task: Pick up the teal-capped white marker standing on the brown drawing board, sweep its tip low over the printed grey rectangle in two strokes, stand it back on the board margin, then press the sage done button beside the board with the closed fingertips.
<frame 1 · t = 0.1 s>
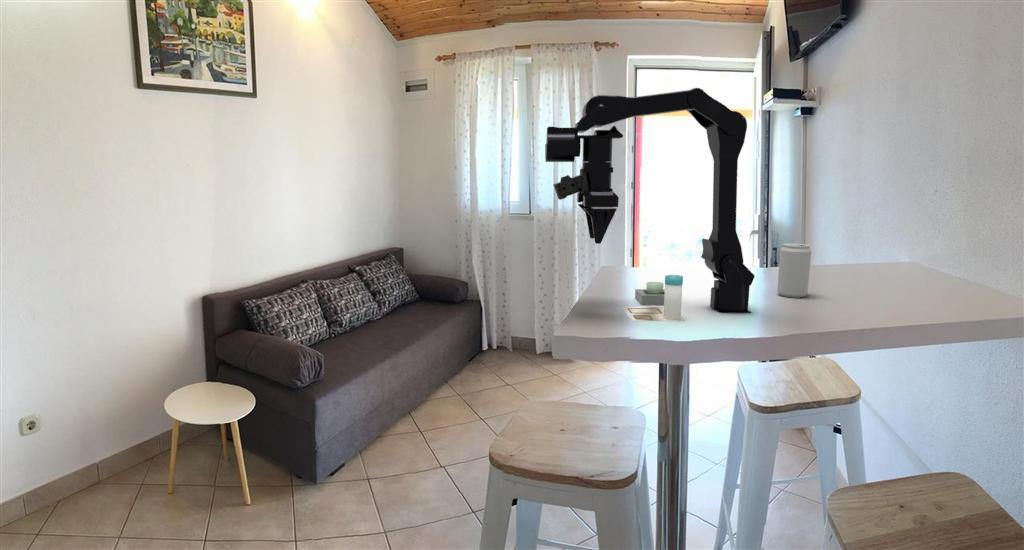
hand: (595, 240, 121), 15 cm above the table, fingers open, 9 cm apart
beverage can: (791, 296, 139), on the table
done button: (654, 288, 130), point 3 cm above the table, slide at 0.0 cm
marker: (671, 318, 116), point 1 cm above the table, touching drawing board
button housing: (654, 303, 130), on the table
drawing board: (651, 315, 120), on the table
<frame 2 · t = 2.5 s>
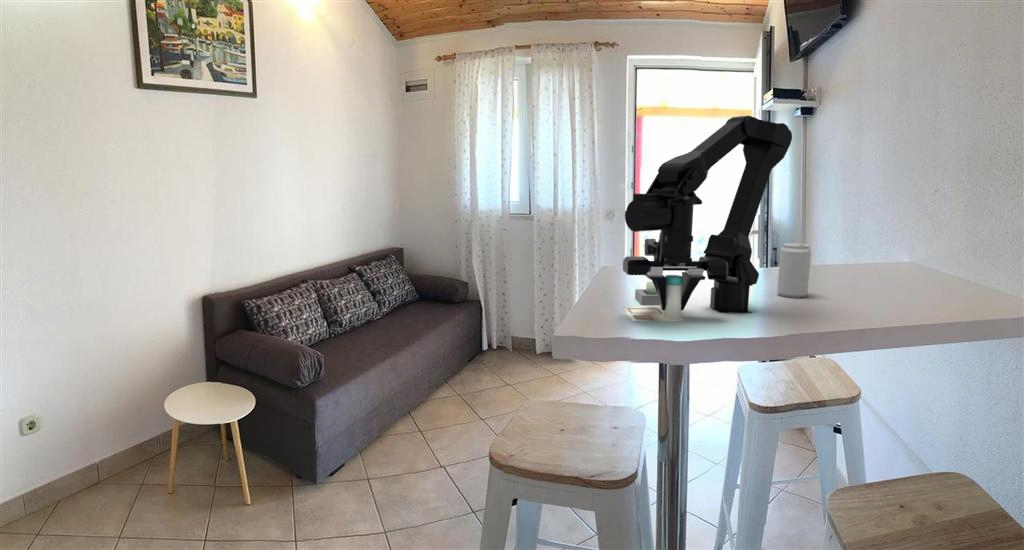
hand: (672, 310, 115), 2 cm above the table, fingers closed on marker, 3 cm apart
marker: (671, 318, 116), point 1 cm above the table, touching drawing board, gripper
everything else where it was.
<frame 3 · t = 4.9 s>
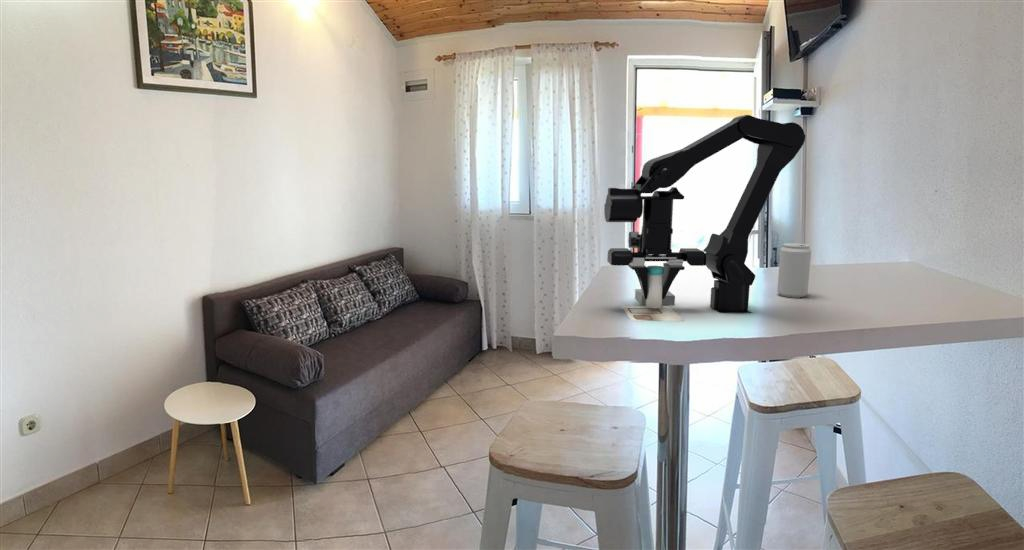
hand: (654, 298, 122), 3 cm above the table, fingers closed on marker, 3 cm apart
marker: (653, 306, 122), point 1 cm above the table, touching gripper
everything else where it was.
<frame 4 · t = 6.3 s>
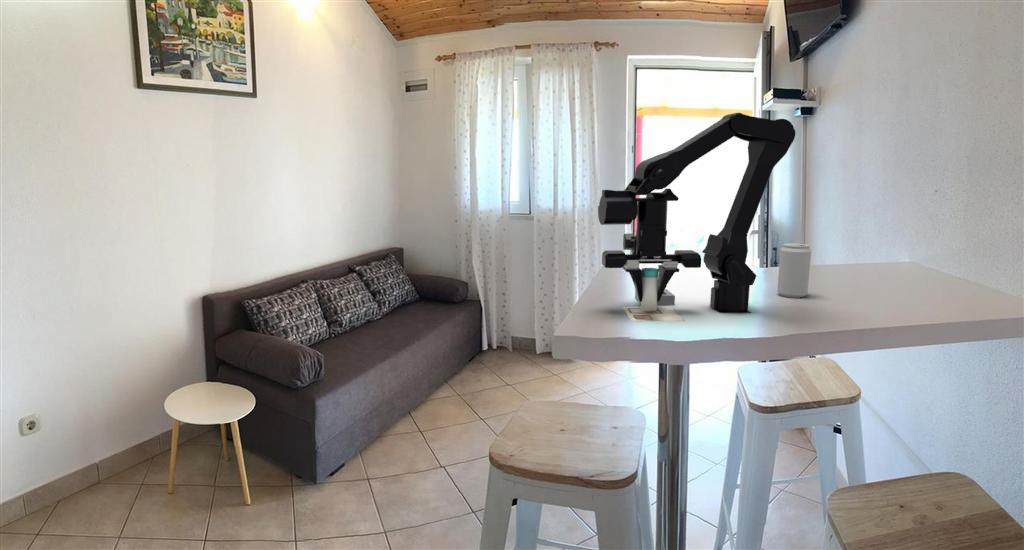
hand: (648, 301, 121), 3 cm above the table, fingers closed on marker, 3 cm apart
marker: (648, 309, 121), point 1 cm above the table, touching gripper
everything else where it was.
when the fingers open (3 cm above the table, at t = 7.4 s): marker stays where it is, resting on drawing board.
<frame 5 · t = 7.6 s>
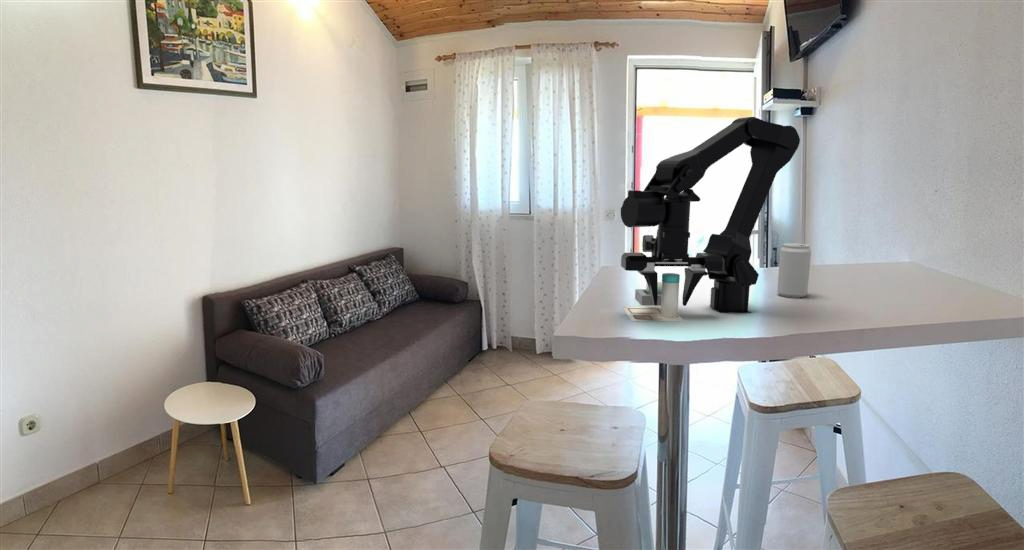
hand: (669, 305, 117), 3 cm above the table, fingers open, 5 cm apart
marker: (669, 315, 118), point 1 cm above the table, touching drawing board
everything else where it was.
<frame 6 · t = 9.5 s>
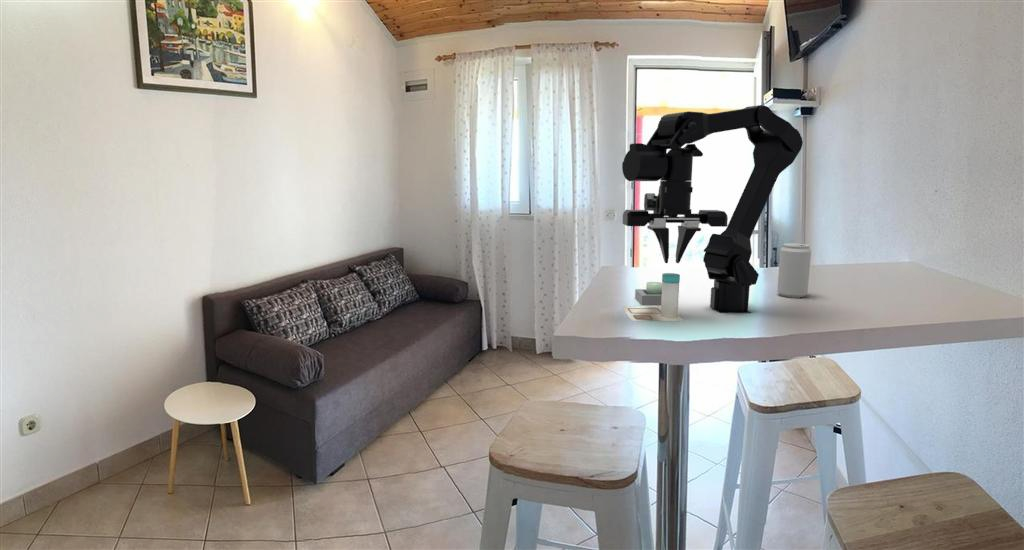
hand: (671, 262, 116), 11 cm above the table, fingers closed
nothing on the table moved.
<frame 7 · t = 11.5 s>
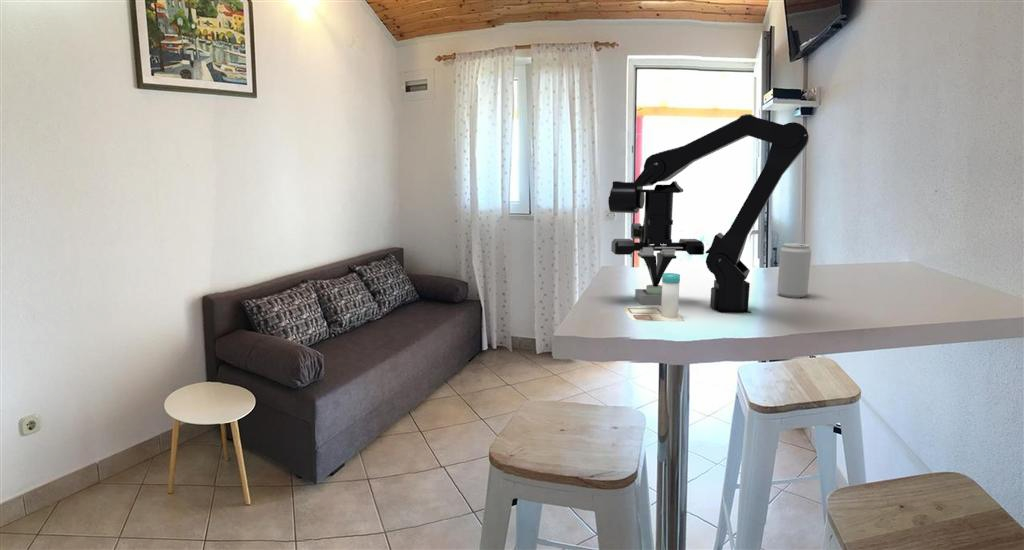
hand: (655, 286, 130), 4 cm above the table, fingers closed, pressing on done button
done button: (654, 291, 130), point 3 cm above the table, slide at 0.7 cm, touching gripper
everything else where it was.
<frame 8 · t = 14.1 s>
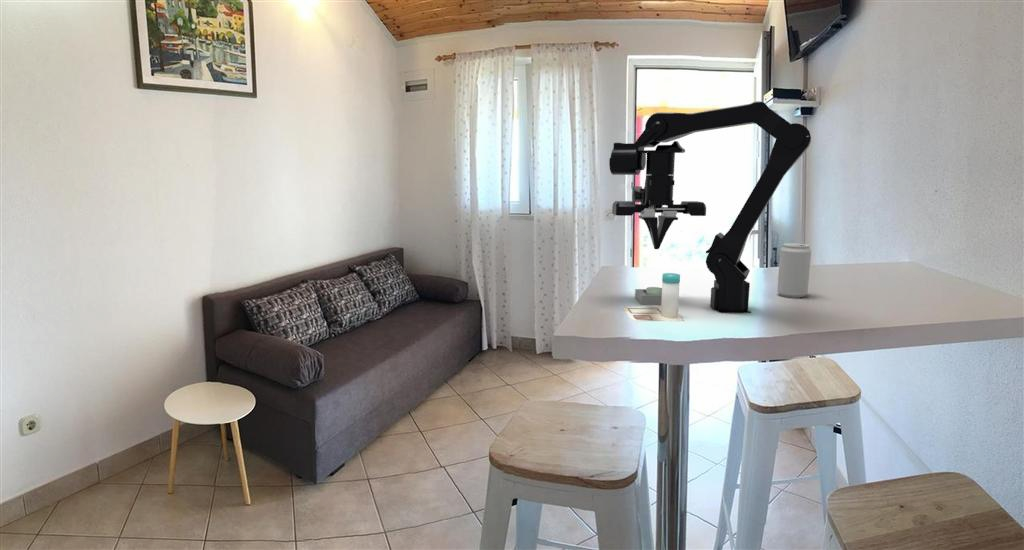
hand: (656, 248, 128), 12 cm above the table, fingers closed
done button: (654, 294, 130), point 2 cm above the table, slide at 1.2 cm
everything else where it was.
at the end: done button slide at 1.2 cm; marker inside the target area (3.6 cm from its centre), point 0.5 cm above the table; marker tilted 1° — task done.
